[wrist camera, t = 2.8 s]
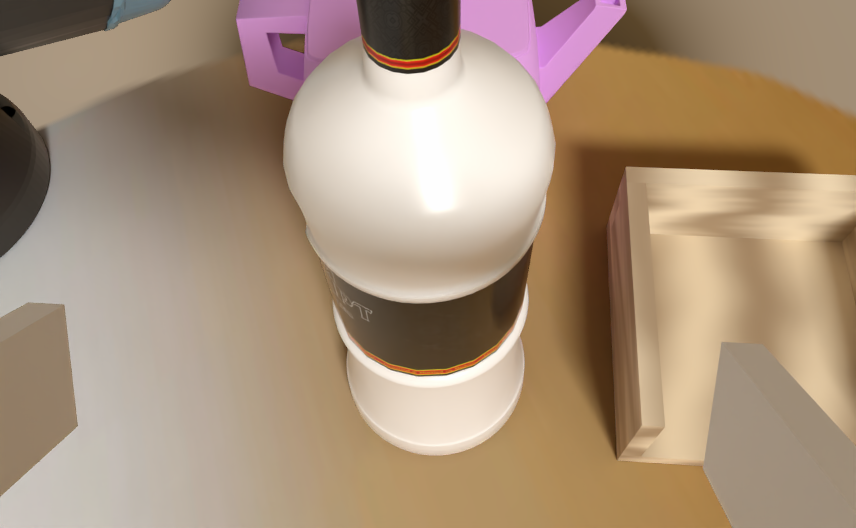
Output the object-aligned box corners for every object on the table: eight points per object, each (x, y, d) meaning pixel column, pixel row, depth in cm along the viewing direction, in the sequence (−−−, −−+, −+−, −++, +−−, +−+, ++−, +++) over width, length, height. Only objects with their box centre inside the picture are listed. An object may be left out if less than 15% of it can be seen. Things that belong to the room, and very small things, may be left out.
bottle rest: (617, 460, 38) (642, 425, 33) (606, 226, 45) (625, 166, 40) (903, 479, 37) (975, 446, 32) (848, 237, 44) (901, 177, 39)
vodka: (502, 480, 38) (597, 34, 12) (329, 436, 39) (69, -49, 13) (536, 318, 42) (661, -275, 16) (379, 283, 44) (257, -312, 17)
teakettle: (246, 122, 50) (187, -31, 39) (423, -11, 56) (415, -178, 45) (430, 276, 44) (421, 144, 33) (609, 109, 50) (651, -51, 39)
